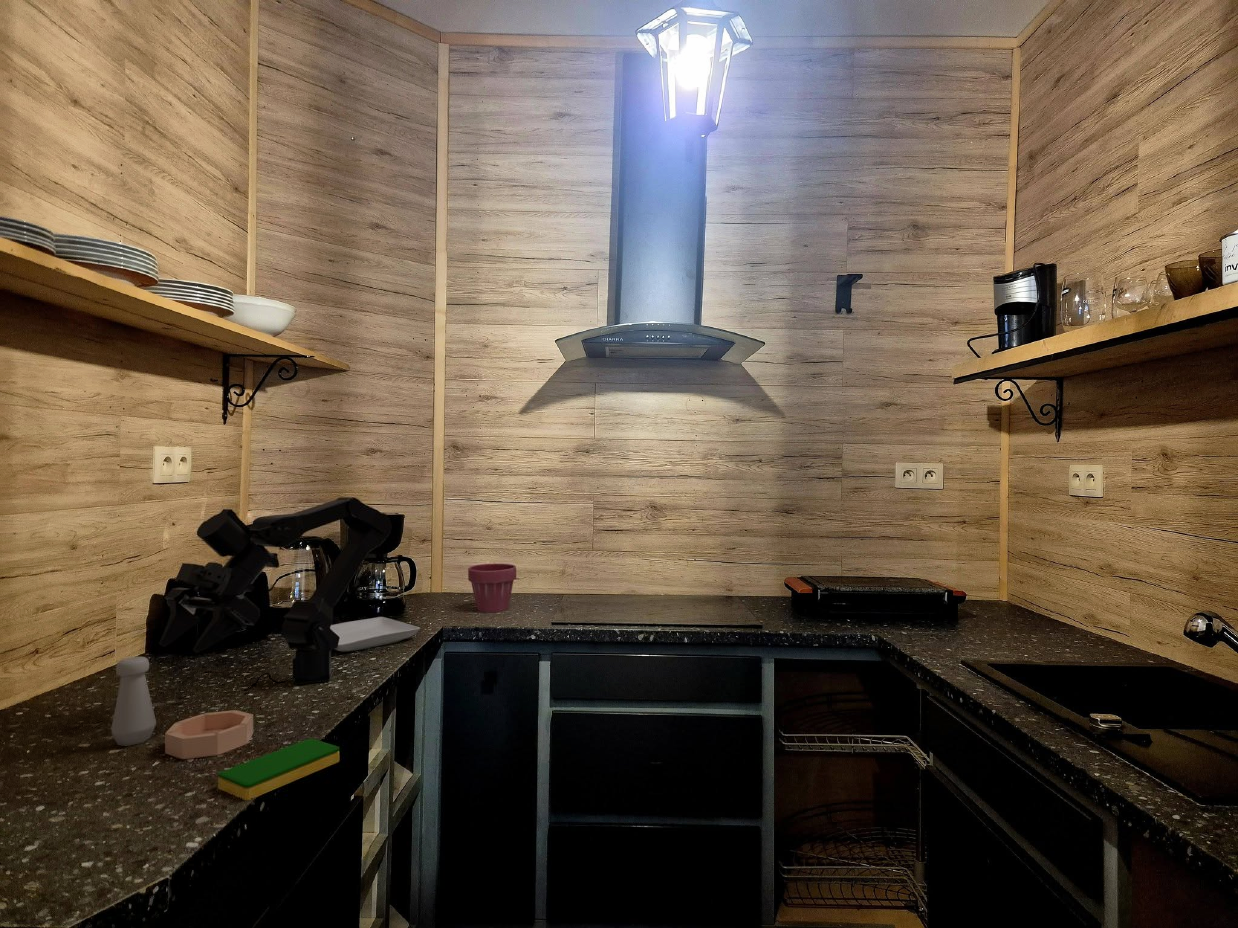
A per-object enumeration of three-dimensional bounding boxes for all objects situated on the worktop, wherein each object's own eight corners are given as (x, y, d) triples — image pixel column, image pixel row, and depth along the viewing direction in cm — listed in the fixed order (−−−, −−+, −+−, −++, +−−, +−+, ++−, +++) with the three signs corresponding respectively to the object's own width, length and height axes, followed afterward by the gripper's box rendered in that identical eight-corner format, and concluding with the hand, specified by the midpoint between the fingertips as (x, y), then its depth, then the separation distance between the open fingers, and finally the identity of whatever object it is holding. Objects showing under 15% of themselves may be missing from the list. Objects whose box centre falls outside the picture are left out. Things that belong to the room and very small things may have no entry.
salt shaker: (149, 730, 113) (148, 651, 113) (161, 739, 109) (160, 657, 109) (106, 742, 108) (105, 659, 108) (117, 751, 105) (116, 665, 105)
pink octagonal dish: (257, 725, 114) (257, 707, 114) (241, 752, 104) (241, 732, 104) (181, 734, 111) (181, 715, 111) (157, 762, 100) (157, 741, 100)
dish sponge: (340, 763, 100) (340, 746, 100) (246, 803, 88) (246, 784, 88) (311, 753, 104) (310, 736, 104) (217, 790, 92) (216, 772, 92)
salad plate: (300, 643, 170) (300, 629, 170) (382, 627, 185) (381, 614, 185) (336, 659, 155) (336, 644, 155) (422, 641, 170) (422, 627, 170)
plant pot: (504, 615, 196) (503, 570, 196) (459, 613, 200) (459, 569, 200) (524, 605, 210) (523, 563, 210) (482, 603, 214) (481, 562, 214)
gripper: (175, 542, 124) (108, 616, 114) (243, 546, 116) (177, 626, 106) (218, 579, 131) (158, 652, 121) (285, 586, 123) (226, 664, 113)
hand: (178, 648), depth 115 cm, fingers open, 9 cm apart
